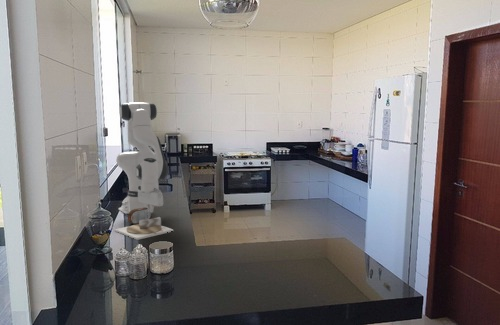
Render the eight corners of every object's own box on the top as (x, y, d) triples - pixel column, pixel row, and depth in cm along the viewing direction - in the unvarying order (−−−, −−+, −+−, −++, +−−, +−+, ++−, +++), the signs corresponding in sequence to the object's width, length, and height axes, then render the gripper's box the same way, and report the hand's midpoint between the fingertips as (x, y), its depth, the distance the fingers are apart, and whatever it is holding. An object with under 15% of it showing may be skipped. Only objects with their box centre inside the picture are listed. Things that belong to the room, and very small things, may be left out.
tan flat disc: (138, 236, 196) (138, 227, 196) (120, 229, 209) (120, 220, 208) (169, 228, 210) (169, 220, 210) (150, 222, 223) (150, 214, 222)
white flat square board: (114, 231, 209) (114, 228, 209) (150, 223, 225) (150, 221, 225) (137, 240, 194) (136, 237, 194) (173, 231, 210) (173, 229, 210)
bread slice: (149, 219, 233) (149, 206, 232) (152, 220, 231) (152, 206, 231) (127, 224, 222) (127, 210, 221) (130, 225, 220) (130, 211, 219)
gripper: (166, 189, 212) (166, 214, 213) (145, 185, 226) (145, 208, 227) (156, 190, 207) (156, 215, 208) (135, 186, 221) (136, 210, 222)
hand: (150, 212), depth 218 cm, fingers closed
